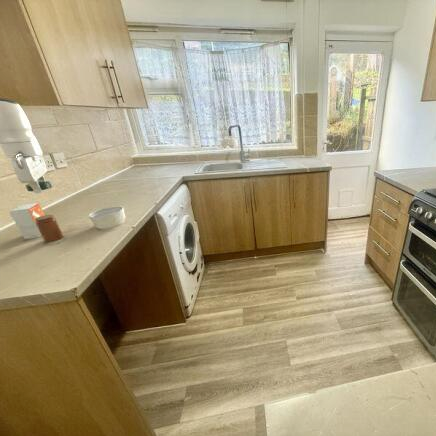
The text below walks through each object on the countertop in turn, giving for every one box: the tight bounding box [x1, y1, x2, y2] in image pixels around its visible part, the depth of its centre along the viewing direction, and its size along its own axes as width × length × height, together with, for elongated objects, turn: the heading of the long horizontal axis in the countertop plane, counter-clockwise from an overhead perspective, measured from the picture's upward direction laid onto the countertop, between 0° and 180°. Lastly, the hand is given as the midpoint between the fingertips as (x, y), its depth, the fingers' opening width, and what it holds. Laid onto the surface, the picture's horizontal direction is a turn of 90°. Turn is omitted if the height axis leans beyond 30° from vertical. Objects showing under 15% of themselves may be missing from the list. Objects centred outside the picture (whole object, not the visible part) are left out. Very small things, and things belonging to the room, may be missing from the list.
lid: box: [25, 180, 53, 192], centre depth 87 cm, size 6×6×2 cm
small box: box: [9, 202, 46, 240], centre depth 104 cm, size 8×6×13 cm
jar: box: [35, 214, 65, 243], centre depth 99 cm, size 6×6×11 cm
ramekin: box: [88, 205, 127, 230], centre depth 113 cm, size 13×13×7 cm
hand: (41, 190), depth 88 cm, fingers closed on lid, 6 cm apart
